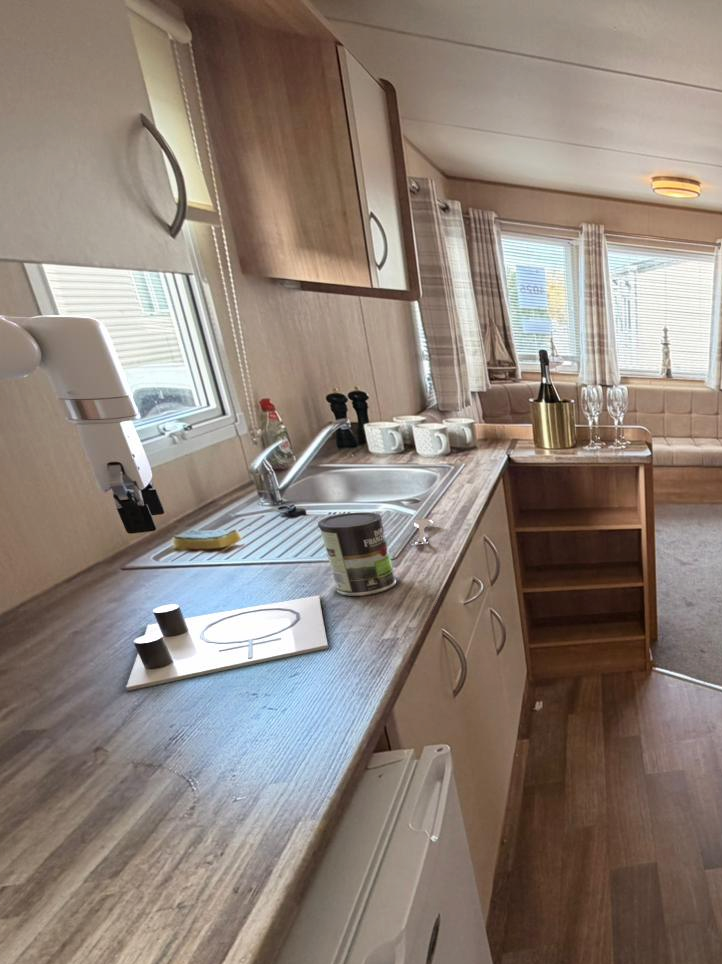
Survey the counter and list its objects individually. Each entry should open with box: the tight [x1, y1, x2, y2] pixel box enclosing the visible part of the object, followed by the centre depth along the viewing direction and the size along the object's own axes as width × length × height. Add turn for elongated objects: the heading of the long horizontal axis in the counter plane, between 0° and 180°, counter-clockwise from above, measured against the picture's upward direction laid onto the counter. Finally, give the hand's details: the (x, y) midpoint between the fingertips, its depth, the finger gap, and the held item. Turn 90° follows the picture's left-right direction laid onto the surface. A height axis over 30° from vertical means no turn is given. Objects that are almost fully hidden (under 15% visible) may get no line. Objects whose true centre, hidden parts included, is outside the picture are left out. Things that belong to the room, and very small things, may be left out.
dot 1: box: [132, 634, 173, 669], centre depth 97 cm, size 3×3×4 cm
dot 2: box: [152, 604, 188, 637], centre depth 106 cm, size 3×3×4 cm
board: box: [125, 594, 329, 692], centre depth 107 cm, size 24×24×1 cm
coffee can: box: [317, 511, 397, 597], centre depth 126 cm, size 10×10×14 cm
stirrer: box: [410, 518, 434, 546], centre depth 155 cm, size 20×4×5 cm
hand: (147, 523), depth 99 cm, fingers open, 9 cm apart
